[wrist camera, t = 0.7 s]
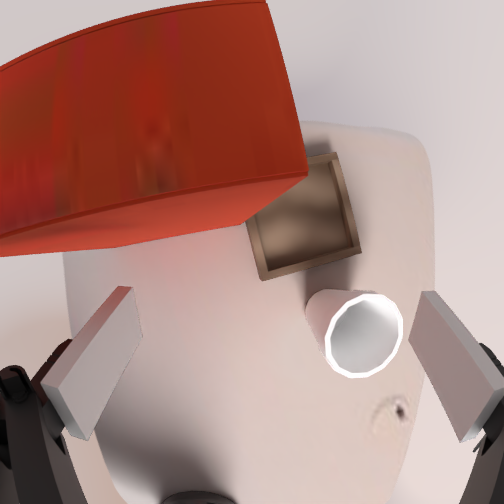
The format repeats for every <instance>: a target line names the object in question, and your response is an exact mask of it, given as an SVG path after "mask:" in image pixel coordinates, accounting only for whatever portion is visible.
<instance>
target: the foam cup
mask: <svg viewBox="0 0 504 504" xmlns="http://www.w3.org/2000/svg"><path fill="white" fill-rule="evenodd" d="M305 315H306V320H307V323H308V325H309V327H310V329H311V331H312V333H313V334H314V336H315V338H316V340H317V342H318V344H319V350H320V352H321V353H322V355H323V356H324V358H325V359H326V361H327V362H328V364H329V365H330V366H331V367H332V368H333V369H334V370H335V371H336V372H338V373H340V374H342V375H344V376H346V377H348V378H361V377H368V376H370V375H372V374H374V373H376V372H378V371H380V370H381V369H383V368H384V367H385V366H386V365H387V364H388V363H389V362H390V360H391V359H392V358H393V357H394V356H395V355H396V353H397V350H398V348H399V345H400V343H401V340H402V337H403V318H402V316H401V314H400V312H399V310H398V308H397V306H396V304H395V303H394V302H392V301H391V300H389V299H388V298H386V297H385V296H383V295H382V294H379V293H376V292H373V291H363V290H354V291H346V290H334V289H323V290H321V291H318V292H316V293H315V294H314V295H313V296H312V297H311V298H310V299H309V300H308V303H307V306H306V308H305Z"/></svg>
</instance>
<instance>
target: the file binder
mask: <svg viewBox="0 0 504 504" xmlns="http://www.w3.org/2000/svg"><path fill="white" fill-rule="evenodd" d="M308 171H309V167H308V162H307V157H306V152H305V148H304V143H303V138H302V134H301V129H300V125H299V120H298V116H297V112H296V107H295V103H294V99H293V95H292V91H291V87H290V83H289V79H288V75H287V71H286V67H285V63H284V60H283V56H282V52H281V49H280V46H279V41H278V38H277V34H276V31H275V27H274V24H273V21H272V17H271V14H270V11H269V8H268V4H267V3H266V0H212V1H204V2H195V3H188V4H182V5H176V6H170V7H165V8H160V9H155V10H150V11H146V12H141V13H137V14H133V15H129V16H125V17H122V18H118V19H114V20H111V21H107V22H105V23H101V24H98V25H95V26H92V27H89V28H86V29H83V30H80V31H77V32H75V33H72V34H69V35H67V36H64V37H62V38H59V39H57V40H55V41H52V42H49V43H47V44H45V45H43V46H40V47H38V48H36V49H34V50H32V51H29V52H28V53H25V54H23V55H21V56H19V57H17V58H15V59H13V60H11V61H10V62H8V63H6V64H4V65H2V66H0V257H7V256H18V255H29V254H41V253H54V252H66V251H78V250H91V249H104V248H116V247H121V246H126V245H131V244H136V243H141V242H146V241H152V240H157V239H162V238H168V237H173V236H178V235H184V234H189V233H195V232H201V231H206V230H212V229H218V228H223V227H229V226H235V225H240V224H242V223H243V222H245V221H246V220H247V219H249V218H250V217H251V216H253V215H254V214H256V213H257V212H258V211H260V210H261V209H262V208H264V207H265V206H267V205H268V204H269V203H271V202H272V201H274V200H275V199H276V198H278V197H279V196H281V195H282V194H283V193H285V192H286V191H288V190H289V189H290V188H292V187H293V186H295V185H296V184H297V183H299V182H300V181H302V180H303V179H304V178H306V177H307V176H308Z"/></svg>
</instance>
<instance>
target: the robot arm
mask: <svg viewBox="0 0 504 504" xmlns="http://www.w3.org/2000/svg"><path fill="white" fill-rule="evenodd" d="M142 337H143V335H142V330H141V326H140V321H139V317H138V312H137V307H136V302H135V297H134V291H133V287H124V286H118V287H117V288H116V289H115V290H114V291H113V293H112V294H111V295H110V296H109V297H108V298H107V299H106V301H105V302H104V303H103V304H102V305H101V307H100V308H99V309H98V310H97V311H96V312H95V314H94V315H93V316H92V317H91V318H90V320H89V321H88V322H87V323H86V325H85V326H84V327H83V328H82V329H81V331H80V332H79V333H78V334H77V336H76V337H75V338H74V339H73V340H72V339H67V340H66V341H64V342H63V343H61V344H60V345H59V346H58V347H57V348H56V349H55V351H54V352H53V353H52V355H50V357H49V358H48V359H47V362H45V363H44V364H43V365H42V367H41V368H40V369H39V371H38V372H37V373H36V375H35V376H34V377H33V378H32V380H31V381H30V379H29V377H28V376H27V374H26V372H25V370H24V369H23V368H22V367H21V366H17V365H12V366H8V367H5V368H3V369H2V370H1V371H0V504H88V503H87V501H86V498H85V496H84V493H83V491H82V489H81V486H80V483H79V481H78V478H77V475H76V473H75V470H74V467H73V464H72V461H71V458H70V455H69V452H68V449H67V446H66V442H65V439H64V437H63V435H62V433H61V432H62V430H63V428H64V427H66V429H67V430H68V432H69V433H70V435H71V436H74V437H77V438H80V439H83V440H86V441H88V440H89V438H90V436H91V434H92V432H93V430H94V428H95V426H96V424H97V422H98V420H99V418H100V416H101V414H102V412H103V410H104V408H105V406H106V404H107V402H108V400H109V398H110V396H111V394H112V392H113V391H114V389H115V387H116V385H117V383H118V381H119V379H120V377H121V375H122V374H123V372H124V370H125V368H126V366H127V364H128V362H129V361H130V359H131V357H132V355H133V353H134V351H135V350H136V348H137V346H138V344H139V342H140V341H141V339H142ZM408 340H409V342H410V344H411V346H412V348H413V349H414V351H415V353H416V355H417V357H418V359H419V360H420V362H421V364H422V366H423V368H424V370H425V372H426V374H427V375H428V377H429V379H430V381H431V383H432V385H433V387H434V389H435V391H436V393H437V395H438V397H439V399H440V401H441V403H442V405H443V407H444V409H445V411H446V414H447V416H448V418H449V420H450V422H451V424H452V426H453V428H454V431H455V433H456V435H457V437H458V440H459V442H460V443H461V442H464V441H467V440H470V439H473V438H475V437H476V436H477V435H478V433H479V432H480V431H481V429H482V428H483V429H484V431H485V433H486V434H485V435H484V437H483V438H482V439H481V440H480V442H479V443H478V444H477V446H476V447H475V448H474V450H473V452H475V451H476V450H477V449H478V448H479V451H478V454H477V457H476V460H475V463H474V466H473V469H472V472H471V475H470V478H469V480H468V483H467V486H466V488H465V491H464V493H463V496H462V498H461V500H460V503H459V504H504V367H503V366H502V365H501V363H500V361H499V360H498V359H497V358H496V356H495V355H494V353H493V352H492V351H491V350H490V349H489V348H488V347H486V346H485V345H484V344H482V343H478V342H477V341H476V339H475V338H474V337H473V336H472V334H471V333H470V332H469V331H468V329H467V328H466V327H465V326H464V324H463V323H462V322H461V321H460V320H459V318H458V317H457V316H456V315H455V314H454V313H453V311H452V310H451V309H450V308H449V306H448V305H447V304H446V303H445V302H444V301H443V299H442V298H441V297H440V296H439V295H438V294H437V293H436V291H422V292H421V296H420V300H419V304H418V308H417V312H416V315H415V319H414V322H413V326H412V329H411V332H410V336H409V339H408ZM163 504H235V503H234V502H232V501H231V500H229V499H227V498H225V497H223V496H220V495H217V494H213V493H208V492H198V491H192V492H183V493H178V494H175V495H173V496H170V497H169V498H167V499H166V500H165V501H164V502H163Z"/></svg>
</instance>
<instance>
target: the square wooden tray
mask: <svg viewBox="0 0 504 504" xmlns="http://www.w3.org/2000/svg"><path fill="white" fill-rule="evenodd" d="M307 162H308V167H309V171H308V176H307V177H306V178H304V179H303V180H302V181H300V182H299V183H297V184H296V185H295V186H293V187H292V188H290V189H289V190H288V191H286V192H285V193H283V194H282V195H281V196H279V197H278V198H276V199H275V200H274V201H272V202H271V203H269V204H268V205H267V206H265V207H264V208H262V209H261V210H260V211H258V212H257V213H256V214H254V215H253V216H251V217H250V218H249V219H247V220H246V221H245V223H246V227H247V231H248V235H249V238H250V242H251V246H252V250H253V254H254V258H255V262H256V266H257V270H258V274H259V277H260V279H261V280H262V281H266V280H269V279H273V278H276V277H280V276H284V275H287V274H291V273H294V272H298V271H301V270H305V269H308V268H312V267H315V266H319V265H322V264H326V263H329V262H333V261H336V260H339V259H343V258H346V257H350V256H353V255H356V254H360V253H362V251H361V247H360V242H359V238H358V233H357V229H356V224H355V220H354V216H353V212H352V208H351V204H350V200H349V196H348V192H347V188H346V184H345V181H344V177H343V173H342V170H341V166H340V163H339V159H338V156H337V153H336V152H334V153H328V154H322V155H317V156H311V157H307Z"/></svg>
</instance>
